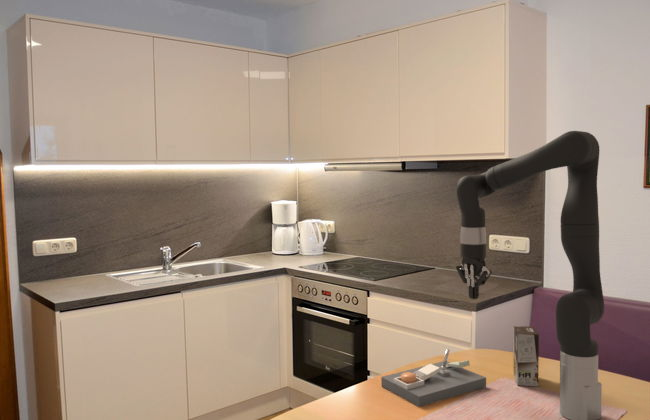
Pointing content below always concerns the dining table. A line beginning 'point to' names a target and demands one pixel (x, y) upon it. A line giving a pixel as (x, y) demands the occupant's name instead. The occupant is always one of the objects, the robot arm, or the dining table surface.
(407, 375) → the push button
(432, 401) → the control panel
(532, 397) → the dining table surface
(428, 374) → the rocker switch
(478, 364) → the dining table surface
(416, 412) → the dining table surface
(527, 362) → the coffee box
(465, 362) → the paddle switch
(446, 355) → the toggle lever
